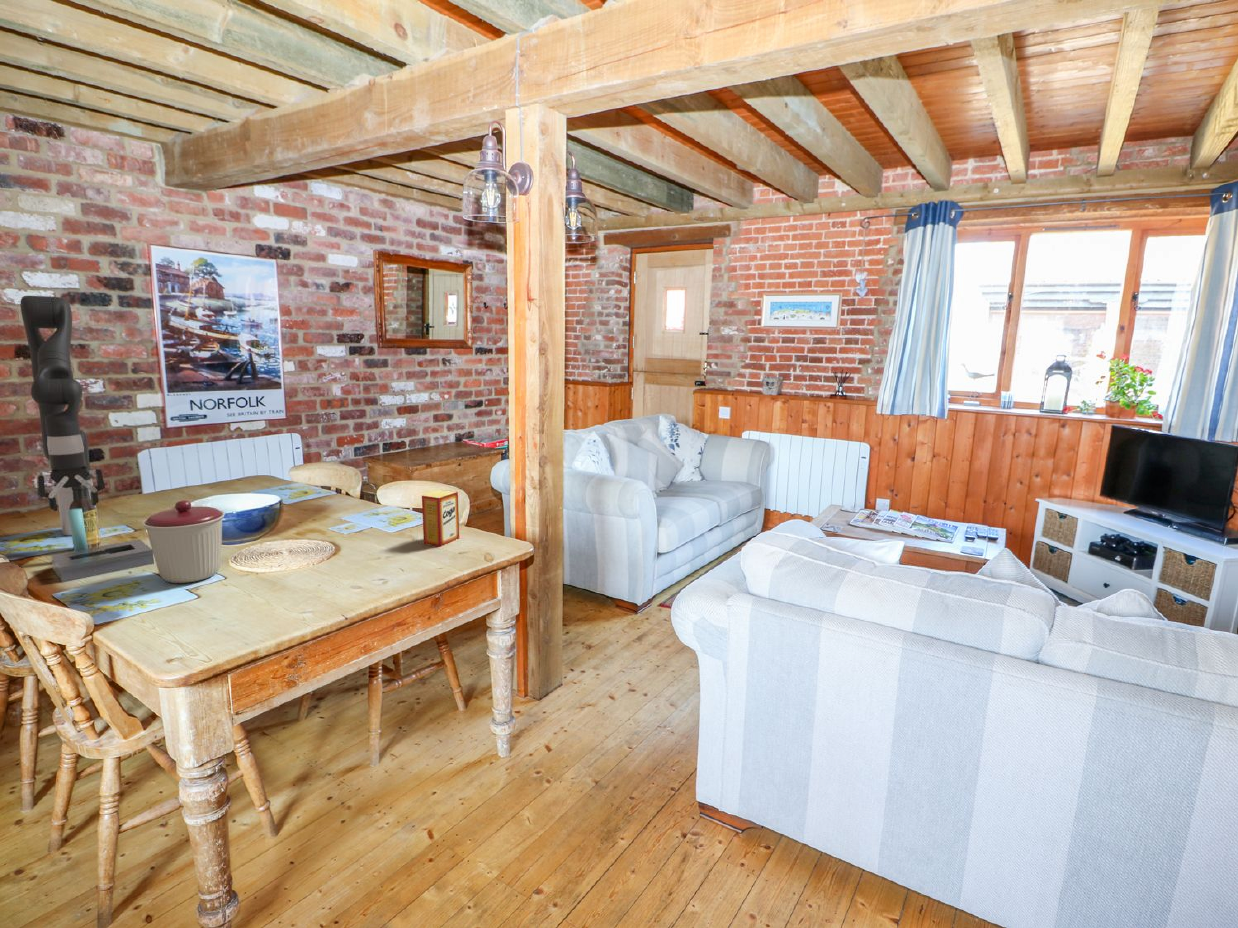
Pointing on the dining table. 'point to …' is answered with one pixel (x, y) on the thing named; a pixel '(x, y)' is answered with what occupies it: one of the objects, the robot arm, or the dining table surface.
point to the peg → (78, 529)
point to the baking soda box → (440, 517)
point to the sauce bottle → (86, 514)
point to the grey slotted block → (101, 560)
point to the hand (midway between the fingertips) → (74, 507)
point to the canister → (186, 542)
